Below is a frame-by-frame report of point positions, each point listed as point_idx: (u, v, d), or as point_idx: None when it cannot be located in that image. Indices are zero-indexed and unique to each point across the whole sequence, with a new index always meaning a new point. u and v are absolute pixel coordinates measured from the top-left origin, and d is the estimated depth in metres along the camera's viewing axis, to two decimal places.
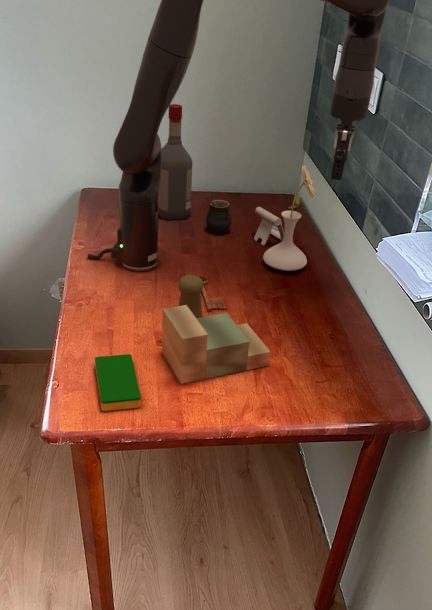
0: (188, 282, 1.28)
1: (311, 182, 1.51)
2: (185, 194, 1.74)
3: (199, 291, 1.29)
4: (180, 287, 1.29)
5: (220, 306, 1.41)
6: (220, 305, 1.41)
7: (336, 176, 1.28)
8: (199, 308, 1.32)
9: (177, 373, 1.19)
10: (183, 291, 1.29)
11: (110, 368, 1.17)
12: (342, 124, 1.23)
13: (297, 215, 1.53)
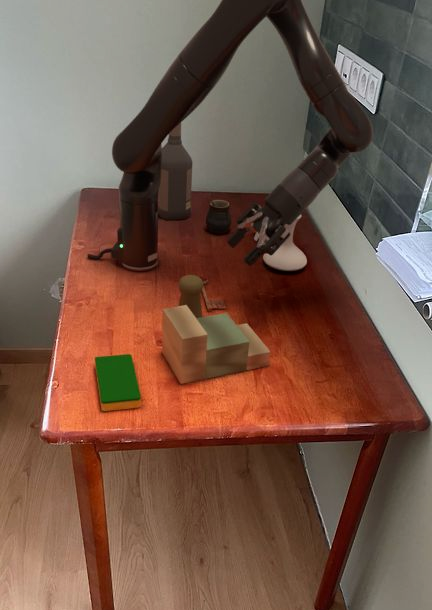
0: (188, 282, 1.28)
1: None
2: (185, 194, 1.74)
3: (199, 291, 1.29)
4: (180, 287, 1.29)
5: (220, 306, 1.41)
6: (220, 305, 1.41)
7: (251, 261, 1.26)
8: (199, 308, 1.32)
9: (177, 373, 1.19)
10: (183, 291, 1.29)
11: (110, 368, 1.17)
12: (280, 220, 1.25)
13: None
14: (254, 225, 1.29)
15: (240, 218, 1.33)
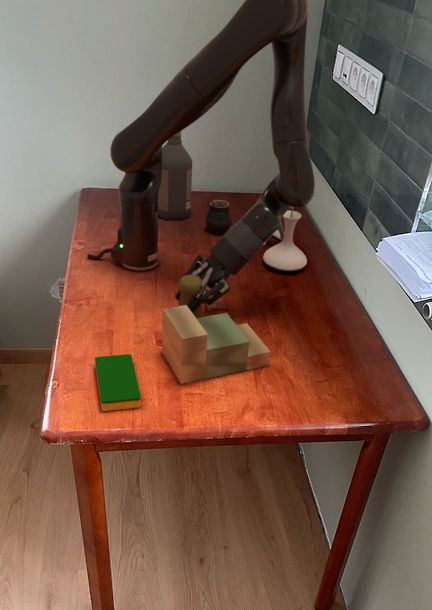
0: (188, 282, 1.28)
1: None
2: (185, 194, 1.74)
3: None
4: (180, 287, 1.29)
5: (220, 306, 1.41)
6: (220, 305, 1.41)
7: None
8: (199, 308, 1.32)
9: (177, 373, 1.19)
10: (183, 291, 1.29)
11: (110, 368, 1.17)
12: (224, 272, 1.27)
13: (297, 215, 1.53)
14: (202, 276, 1.30)
15: (187, 272, 1.34)
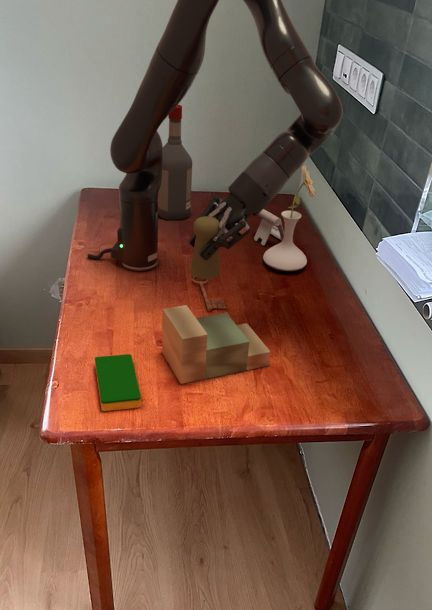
0: (204, 223, 1.14)
1: (311, 182, 1.51)
2: (185, 194, 1.74)
3: None
4: (195, 229, 1.15)
5: (220, 306, 1.41)
6: (220, 305, 1.41)
7: (207, 256, 1.16)
8: (216, 254, 1.19)
9: (177, 373, 1.19)
10: (199, 234, 1.15)
11: (110, 368, 1.17)
12: (244, 211, 1.14)
13: (297, 215, 1.53)
14: (219, 217, 1.17)
15: (203, 215, 1.21)
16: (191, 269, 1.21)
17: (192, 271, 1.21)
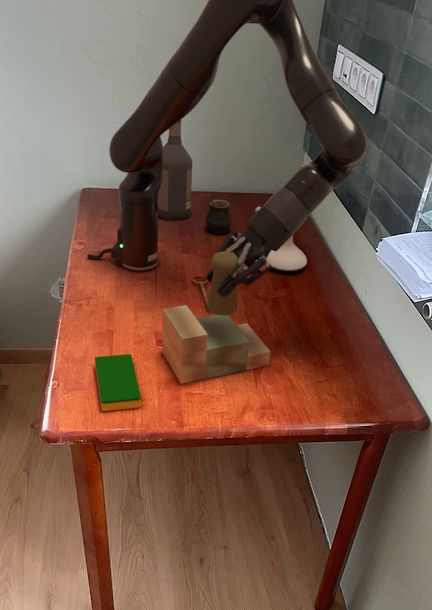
0: (223, 260, 1.10)
1: None
2: (185, 194, 1.74)
3: None
4: (213, 265, 1.11)
5: None
6: None
7: (225, 293, 1.12)
8: (234, 290, 1.15)
9: (177, 373, 1.19)
10: (217, 270, 1.11)
11: (110, 368, 1.17)
12: (264, 247, 1.09)
13: None
14: (238, 253, 1.13)
15: (220, 249, 1.16)
16: (208, 305, 1.17)
17: (209, 307, 1.17)
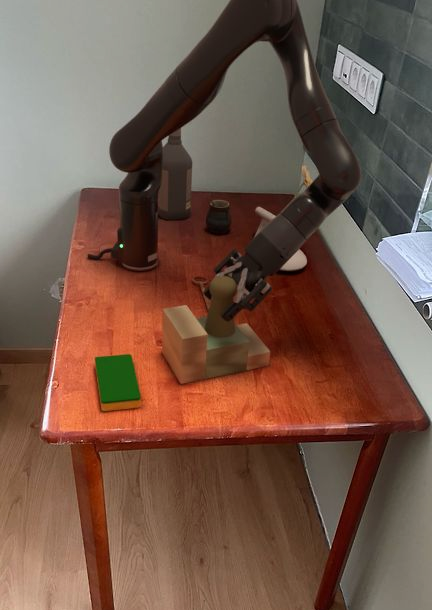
0: (221, 285, 1.14)
1: (311, 182, 1.51)
2: (185, 194, 1.74)
3: (233, 294, 1.15)
4: (212, 290, 1.15)
5: None
6: None
7: (228, 317, 1.14)
8: None
9: (177, 373, 1.19)
10: (215, 294, 1.14)
11: (110, 368, 1.17)
12: (261, 273, 1.12)
13: None
14: (233, 276, 1.16)
15: (218, 267, 1.20)
16: (206, 327, 1.20)
17: (207, 329, 1.20)
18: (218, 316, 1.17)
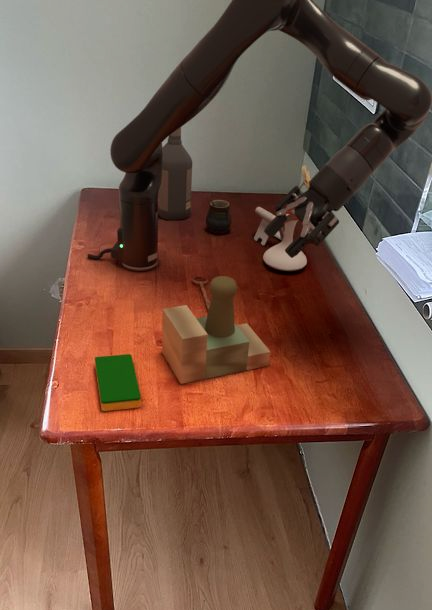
0: (221, 285, 1.14)
1: None
2: (185, 194, 1.74)
3: (233, 294, 1.15)
4: (212, 290, 1.15)
5: None
6: None
7: (293, 253, 1.11)
8: (232, 313, 1.18)
9: (177, 373, 1.19)
10: (215, 294, 1.14)
11: (110, 368, 1.17)
12: (327, 206, 1.10)
13: None
14: (296, 212, 1.14)
15: (279, 204, 1.18)
16: (206, 327, 1.20)
17: (207, 329, 1.20)
18: (218, 316, 1.17)
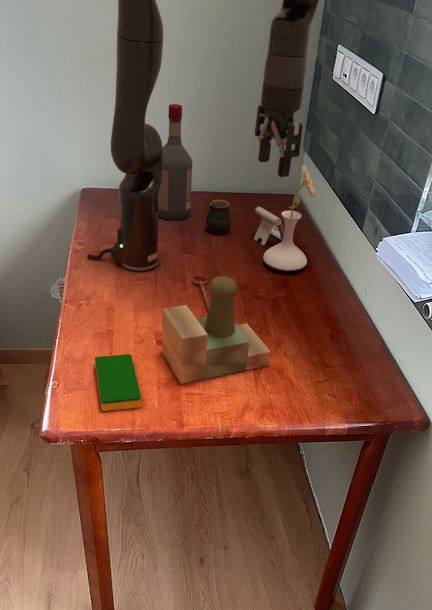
0: (221, 285, 1.14)
1: (311, 182, 1.51)
2: (185, 194, 1.74)
3: (233, 294, 1.15)
4: (212, 290, 1.15)
5: None
6: None
7: (285, 173, 1.19)
8: (232, 313, 1.18)
9: (177, 373, 1.19)
10: (215, 294, 1.14)
11: (110, 368, 1.17)
12: (285, 117, 1.13)
13: (297, 215, 1.53)
14: (269, 133, 1.19)
15: (256, 130, 1.24)
16: (206, 327, 1.20)
17: (207, 329, 1.20)
18: (218, 316, 1.17)
